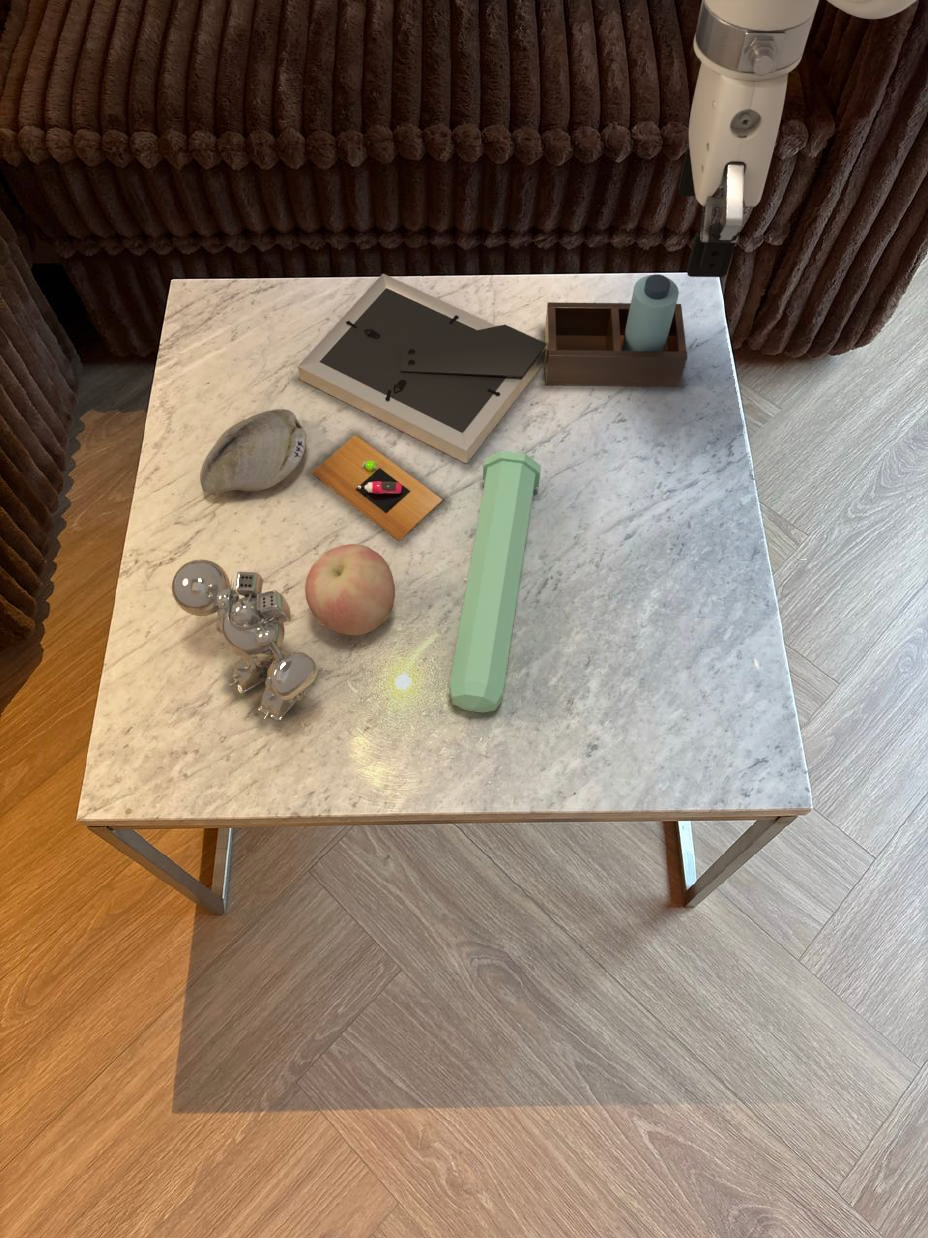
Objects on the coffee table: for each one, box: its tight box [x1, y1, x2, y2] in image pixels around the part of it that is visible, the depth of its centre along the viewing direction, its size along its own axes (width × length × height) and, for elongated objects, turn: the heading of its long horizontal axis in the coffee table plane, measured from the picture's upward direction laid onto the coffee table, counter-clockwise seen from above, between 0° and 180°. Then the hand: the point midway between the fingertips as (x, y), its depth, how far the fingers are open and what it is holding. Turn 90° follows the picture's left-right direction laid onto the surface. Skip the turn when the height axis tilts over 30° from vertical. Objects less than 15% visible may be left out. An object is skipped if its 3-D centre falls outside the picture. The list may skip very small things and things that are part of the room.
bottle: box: [621, 273, 680, 351], centre depth 96 cm, size 4×4×10 cm
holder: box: [544, 301, 688, 388], centre depth 99 cm, size 7×14×4 cm, turn 89°
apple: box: [304, 543, 396, 636], centre depth 84 cm, size 8×8×8 cm
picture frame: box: [297, 273, 547, 465], centre depth 99 cm, size 16×3×21 cm
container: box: [449, 450, 542, 714], centre depth 86 cm, size 6×6×25 cm
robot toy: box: [171, 559, 318, 721], centre depth 78 cm, size 15×6×15 cm, turn 46°
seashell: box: [199, 408, 308, 496], centre depth 93 cm, size 12×8×5 cm
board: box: [311, 434, 444, 542], centre depth 93 cm, size 6×12×2 cm, turn 48°
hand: (701, 232), depth 80 cm, fingers open, 9 cm apart
